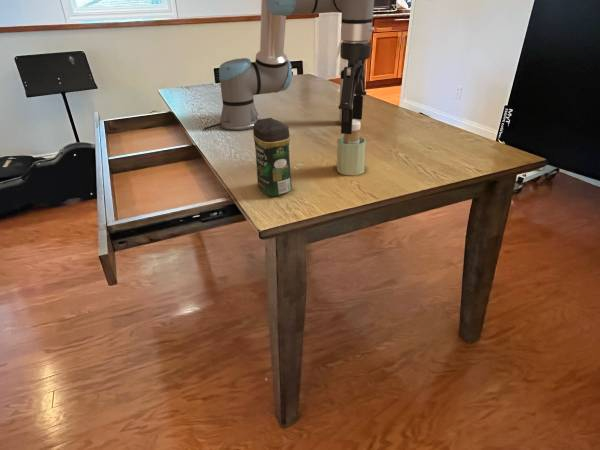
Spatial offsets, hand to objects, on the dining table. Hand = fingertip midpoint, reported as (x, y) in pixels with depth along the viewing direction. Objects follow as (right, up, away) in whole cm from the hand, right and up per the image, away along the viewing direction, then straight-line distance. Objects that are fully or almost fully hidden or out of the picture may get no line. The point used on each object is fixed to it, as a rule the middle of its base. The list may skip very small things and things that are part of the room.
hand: (351, 125), depth 114 cm
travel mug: (+4, +12, +45) cm, 47 cm away
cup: (0, -11, +6) cm, 13 cm away
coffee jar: (-21, -18, -4) cm, 28 cm away
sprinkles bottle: (0, -11, +6) cm, 12 cm away
